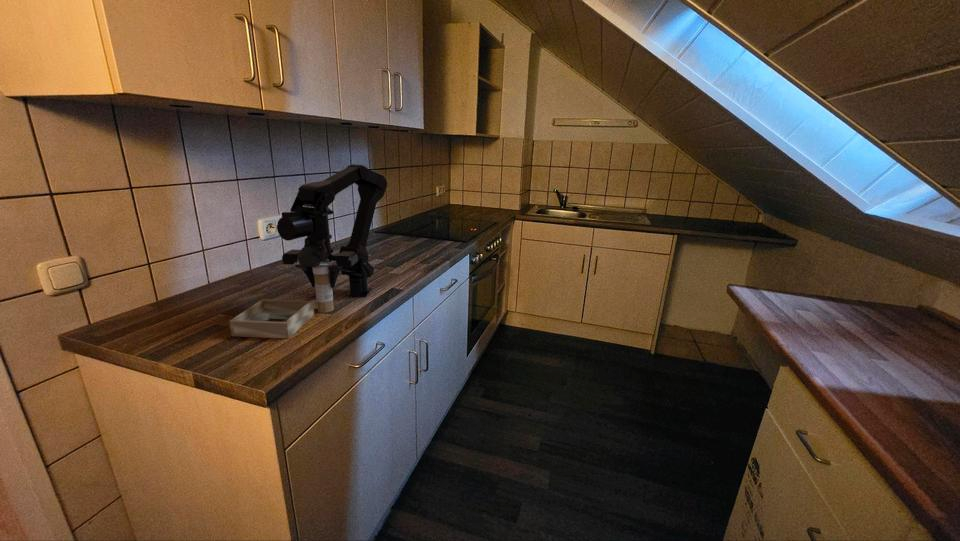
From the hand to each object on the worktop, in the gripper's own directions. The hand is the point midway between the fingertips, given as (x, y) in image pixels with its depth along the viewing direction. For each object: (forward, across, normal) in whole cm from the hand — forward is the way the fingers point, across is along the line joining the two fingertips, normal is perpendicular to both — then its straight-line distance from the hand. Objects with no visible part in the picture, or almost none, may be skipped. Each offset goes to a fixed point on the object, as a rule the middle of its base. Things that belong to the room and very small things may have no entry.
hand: (323, 287), depth 105 cm
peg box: (+7, -9, -10) cm, 15 cm away
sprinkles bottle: (+7, 0, 0) cm, 7 cm away
